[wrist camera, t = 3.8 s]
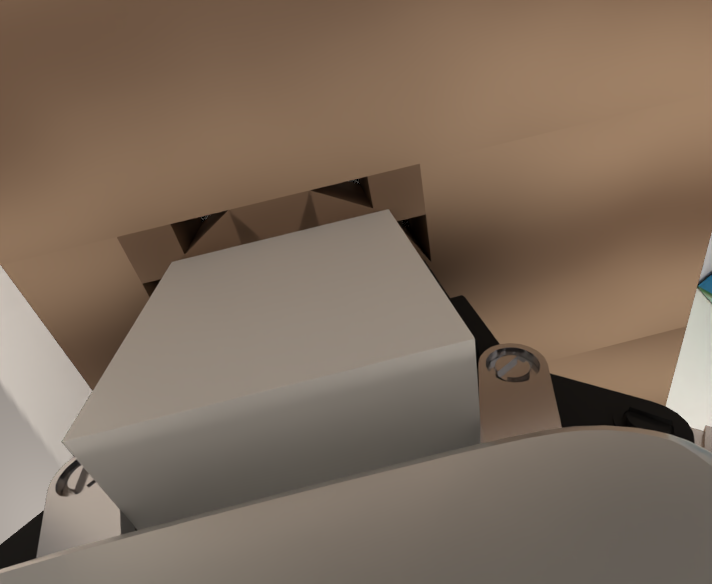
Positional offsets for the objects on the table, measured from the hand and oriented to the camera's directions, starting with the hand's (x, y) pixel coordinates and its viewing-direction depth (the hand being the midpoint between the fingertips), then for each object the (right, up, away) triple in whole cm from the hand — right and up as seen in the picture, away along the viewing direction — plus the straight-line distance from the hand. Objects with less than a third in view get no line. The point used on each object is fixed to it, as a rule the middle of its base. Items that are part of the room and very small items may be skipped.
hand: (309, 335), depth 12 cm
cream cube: (0, 0, 0) cm, 1 cm away
